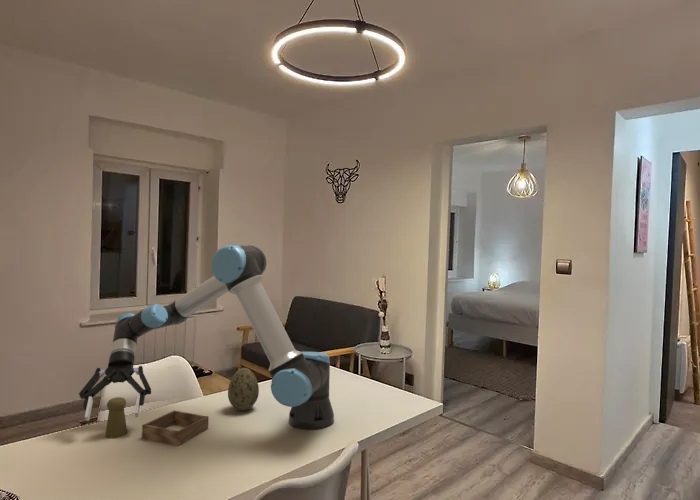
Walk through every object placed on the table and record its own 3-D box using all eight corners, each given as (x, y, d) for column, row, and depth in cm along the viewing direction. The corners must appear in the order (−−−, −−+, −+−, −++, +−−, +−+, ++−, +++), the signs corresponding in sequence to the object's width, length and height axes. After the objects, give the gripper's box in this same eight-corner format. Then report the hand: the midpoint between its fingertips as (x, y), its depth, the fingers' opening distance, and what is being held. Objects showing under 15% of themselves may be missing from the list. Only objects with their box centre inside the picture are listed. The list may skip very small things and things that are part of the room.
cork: (131, 432, 142) (131, 397, 142) (114, 439, 136) (114, 402, 136) (118, 428, 144) (118, 394, 144) (100, 435, 139) (101, 399, 139)
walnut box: (208, 428, 146) (208, 416, 146) (178, 445, 133) (178, 432, 133) (174, 422, 150) (174, 410, 150) (142, 438, 138) (142, 425, 138)
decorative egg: (247, 416, 157) (248, 373, 157) (221, 412, 160) (222, 369, 160) (264, 406, 167) (264, 365, 167) (239, 402, 170) (239, 362, 170)
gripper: (163, 360, 158) (157, 418, 144) (82, 363, 151) (67, 426, 137) (162, 348, 153) (155, 407, 139) (78, 351, 146) (62, 414, 132)
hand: (112, 417), depth 138 cm, fingers open, 13 cm apart
